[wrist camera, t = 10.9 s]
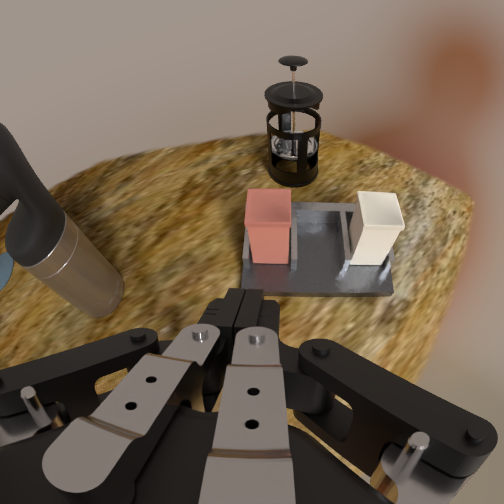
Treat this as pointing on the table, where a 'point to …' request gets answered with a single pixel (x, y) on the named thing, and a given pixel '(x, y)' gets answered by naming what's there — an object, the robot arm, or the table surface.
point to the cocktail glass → (5, 268)
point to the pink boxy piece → (269, 224)
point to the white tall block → (374, 227)
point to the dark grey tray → (318, 258)
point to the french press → (286, 140)
